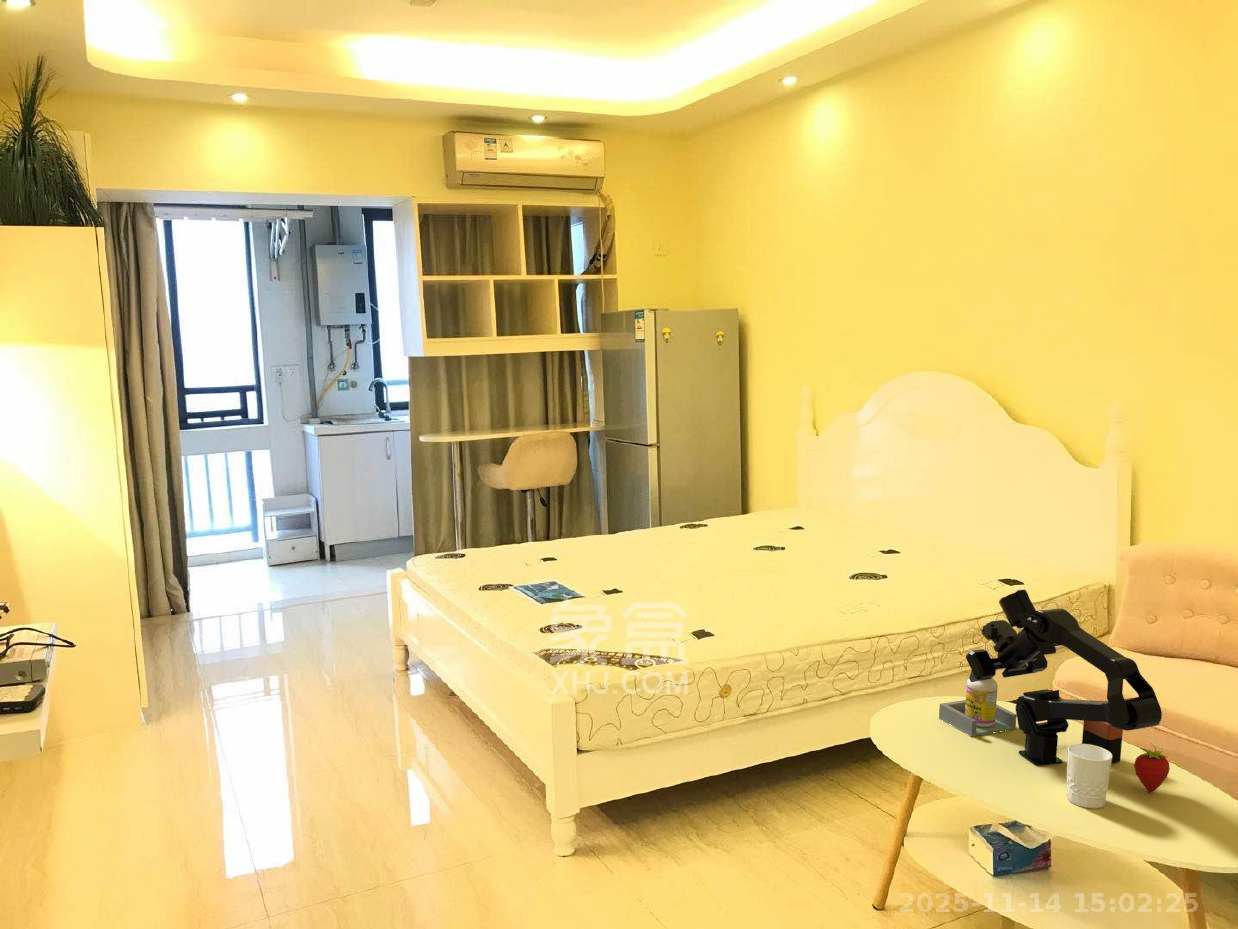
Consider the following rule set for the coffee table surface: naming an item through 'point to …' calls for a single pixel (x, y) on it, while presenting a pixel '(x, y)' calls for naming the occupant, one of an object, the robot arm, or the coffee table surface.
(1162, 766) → the strawberry
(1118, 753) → the battery
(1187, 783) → the coffee table surface
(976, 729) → the grey tray
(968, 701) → the supplement bottle
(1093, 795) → the white cup
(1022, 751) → the robot arm
